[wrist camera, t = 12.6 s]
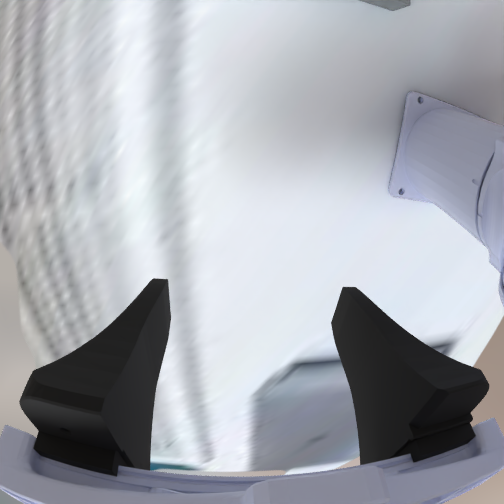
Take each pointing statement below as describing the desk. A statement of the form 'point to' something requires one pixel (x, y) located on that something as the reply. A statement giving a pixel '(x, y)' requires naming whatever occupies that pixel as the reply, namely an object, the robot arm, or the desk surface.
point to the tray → (389, 3)
